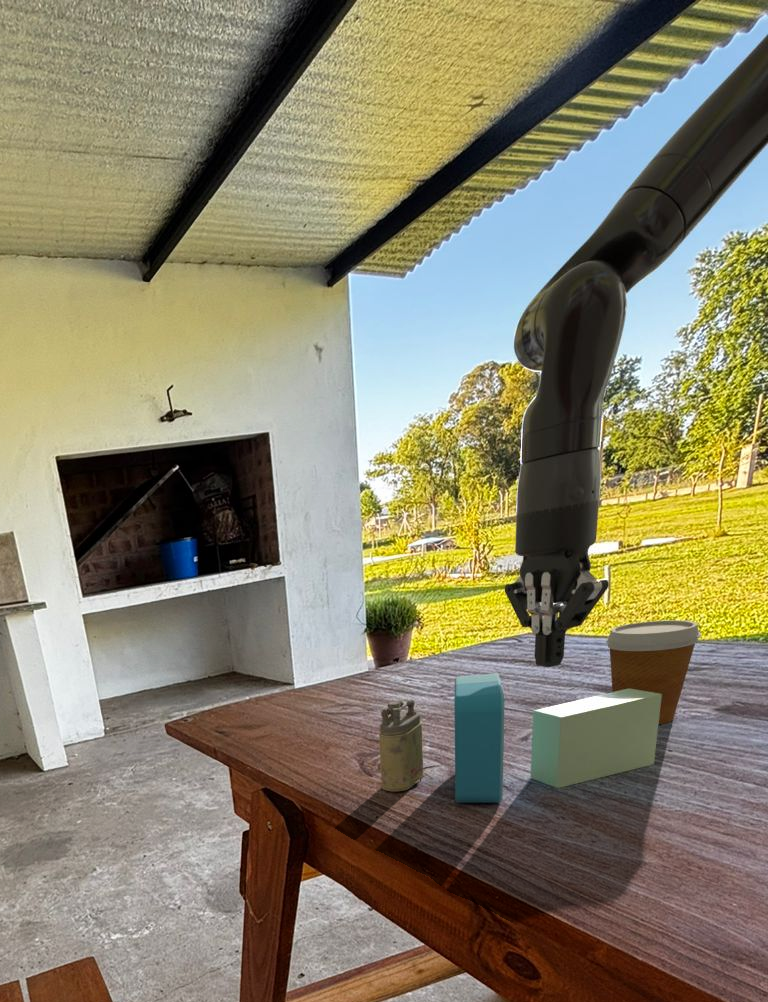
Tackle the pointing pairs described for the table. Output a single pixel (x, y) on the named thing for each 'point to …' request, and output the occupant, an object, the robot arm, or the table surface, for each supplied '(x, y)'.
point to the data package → (479, 739)
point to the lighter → (400, 747)
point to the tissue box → (594, 737)
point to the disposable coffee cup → (653, 659)
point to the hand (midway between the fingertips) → (548, 665)
